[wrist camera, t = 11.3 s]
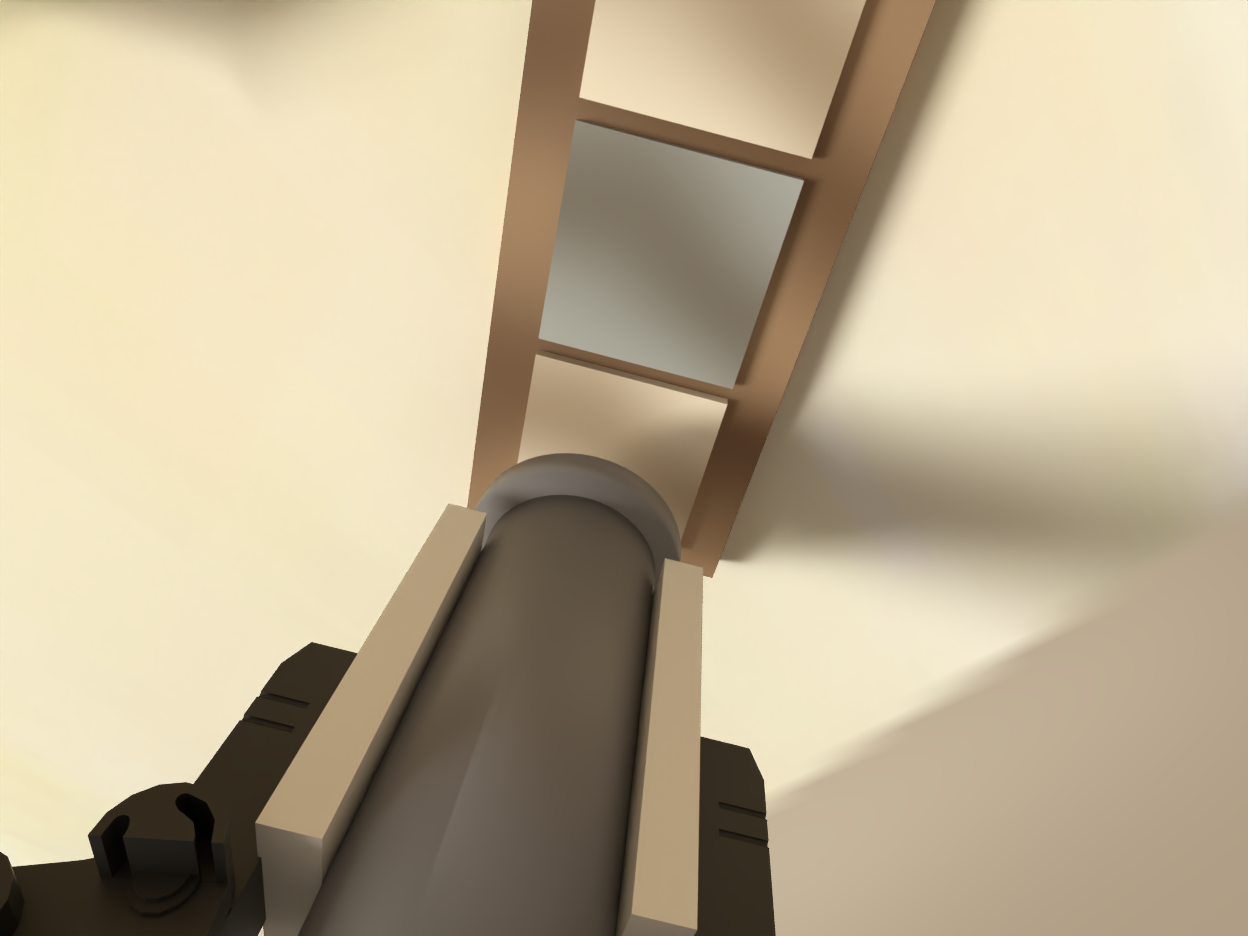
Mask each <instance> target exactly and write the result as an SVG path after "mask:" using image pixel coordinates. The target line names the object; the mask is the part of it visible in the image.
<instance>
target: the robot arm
mask: <svg viewBox="0 0 1248 936" xmlns="http://www.w3.org/2000/svg"><path fill="white" fill-rule="evenodd" d="M486 517H487V513H484V512H480V511H476V510H472V509H468V508H464V507H461V506H457V505H453V504H448V506H447V507H446V509H445V511H444V512H443V514H442V516H441V517H440V519H439V520H438V522H437V524H436V525H435V527H434V529H433V530H432V532H431V534H430V535H429V537H428V539H427V540H426V542H425V544H424V545H423V547H422V549H421V550H420V552H419V553H418V555H417V557H416V558H415V560H414V562H413V563H412V565H411V567H410V568H409V570H408V572H407V573H406V575H405V577H404V578H403V580H402V581H401V583H400V585H399V586H398V588H397V590H396V591H395V593H394V595H393V596H392V598H391V600H390V601H389V603H388V605H387V606H386V608H385V609H384V611H383V613H382V614H381V616H380V618H379V619H378V621H377V623H376V624H375V626H374V628H373V629H372V631H371V633H370V634H369V636H368V638H367V639H366V641H365V642H364V644H363V646H362V647H361V649H360V651H359V652H358V653H354V652H350V651H346V650H342V649H337V648H333V647H329V646H325V645H321V644H317V643H313V642H311V643H310V644H308V645H307V646H305V647H304V648H303V649H301V650H300V651H298V652H297V653H295V654H294V655H292V656H291V657H289V658H288V659H287V660H285V661H284V662H282V663H281V664H280V666H279V667H278V669H277V670H276V671H275V673H274V674H273V675H272V677H271V678H270V680H269V681H268V682H267V684H266V685H265V686H264V688H263V689H262V691H261V694H260V696H259V697H256V699H255V700H254V702H253V703H252V704H251V706H250V707H249V708H248V710H247V711H246V713H245V714H244V718H243V719H242V721H241V720H240V721H239V722H238V724H237V725H236V726H235V728H234V729H233V730H232V732H231V733H230V735H229V736H228V737H227V739H226V740H225V741H224V743H223V744H222V746H221V747H220V748H219V750H218V751H217V753H216V754H215V755H214V757H213V758H212V759H211V761H210V762H209V764H208V765H207V766H206V768H205V769H204V770H203V772H202V773H201V775H200V776H199V777H198V779H197V780H196V781H195V783H194V784H190V783H186V782H184V783H173V784H162V785H157V786H155V787H152V788H149V789H147V790H144V791H141V792H139V793H136V794H133V795H131V796H130V797H128V798H127V799H125V800H124V801H123V802H121V803H120V804H118V805H117V806H115V807H114V808H113V809H111V810H110V811H108V812H107V813H106V814H105V815H104V816H103V818H102V819H101V820H100V821H99V822H98V824H97V825H96V826H95V827H94V828H93V830H92V831H91V832H90V833H89V834H88V838H89V841H90V844H91V848H92V851H93V855H94V858H91V859H86V860H79V861H69V862H58V863H48V864H37V865H27V866H17V867H12V866H11V864H10V861H9V859H8V857H7V856H6V855H4V854H3V853H1V852H0V936H258V934H259V932H260V930H261V928H262V926H263V929H264V936H298V934H299V932H300V930H301V927H302V925H303V923H304V921H305V919H306V917H307V915H308V913H309V911H310V909H311V907H312V905H313V902H314V900H315V898H316V896H317V894H318V892H319V890H320V888H321V886H322V884H323V882H324V879H325V877H326V875H327V873H328V871H329V869H330V867H331V865H332V863H333V861H334V859H335V856H336V854H337V852H338V850H339V848H340V846H341V844H342V842H343V840H344V838H345V836H346V833H347V831H348V829H349V827H350V825H351V823H352V821H353V819H354V817H355V815H356V813H357V810H358V808H359V806H360V804H361V802H362V800H363V798H364V796H365V794H366V792H367V790H368V787H369V785H370V783H371V781H372V779H373V777H374V775H375V773H376V771H377V769H378V767H379V764H380V762H381V760H382V758H383V756H384V754H385V752H386V750H387V748H388V746H389V744H390V741H391V739H392V737H393V735H394V733H395V731H396V729H397V727H398V725H399V723H400V721H401V718H402V716H403V714H404V712H405V710H406V708H407V706H408V704H409V702H410V700H411V698H412V695H413V693H414V691H415V689H416V687H417V685H418V683H419V681H420V679H421V677H422V675H423V672H424V670H425V668H426V666H427V664H428V662H429V660H430V658H431V656H432V654H433V652H434V649H435V647H436V645H437V643H438V641H439V639H440V637H441V635H442V633H443V631H444V629H445V626H446V624H447V622H448V620H449V618H450V616H451V614H452V612H453V610H454V608H455V606H456V603H457V601H458V599H459V597H460V595H461V593H462V591H463V589H464V587H465V585H466V583H467V580H468V578H469V576H470V574H471V572H472V570H473V568H474V566H475V564H476V562H477V560H478V557H479V555H480V553H481V550H482V543H483V537H484V530H485V524H486ZM702 599H703V568H702V567H698V566H694V565H690V564H686V563H682V562H678V561H674V560H670V559H666V558H665V560H664V563H663V566H662V569H661V572H660V575H659V578H658V581H657V584H656V588H655V591H654V594H653V600H652V609H651V618H650V627H649V636H648V645H647V654H646V663H645V672H644V681H643V690H642V699H641V708H640V717H639V726H638V735H637V744H636V753H635V762H634V771H633V780H632V789H631V798H630V807H629V816H628V826H627V835H626V844H625V853H624V862H623V871H622V880H621V889H620V898H619V907H618V916H617V925H616V934H615V936H775V924H774V923H775V922H774V909H773V896H772V882H771V869H770V856H769V848H768V847H767V844H768V829H767V820H766V819H765V817H766V802H765V789H764V779H763V777H762V775H761V773H760V771H759V769H758V766H757V764H756V762H755V760H754V758H753V756H752V753H751V751H750V749H749V748H745V747H741V746H737V745H733V744H729V743H725V742H721V741H717V740H712V739H708V738H704V737H700V723H701V661H702Z"/></svg>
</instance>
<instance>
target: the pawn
mask: <svg viewBox="0 0 1248 936" xmlns="http://www.w3.org/2000/svg"><path fill="white" fill-rule="evenodd" d="M475 510H476V511H480V512H484V513H487V517H486V524H485V530H484V537H483V543H482V550H481V553H480V555H479V557H478V560H477V562H476V564H475V566H474V568H473V570H472V572H471V574H470V576H469V578H468V580H467V583H466V585H465V587H464V589H463V591H462V593H461V595H460V597H459V599H458V601H457V603H456V606H455V608H454V610H453V612H452V614H451V616H450V618H449V620H448V622H447V624H446V626H445V629H444V631H443V633H442V635H441V637H440V639H439V641H438V643H437V645H436V647H435V649H434V652H433V654H432V656H431V658H430V660H429V662H428V664H427V666H426V668H425V670H424V672H423V675H422V677H421V679H420V681H419V683H418V685H417V687H416V689H415V691H414V693H413V695H412V698H411V700H410V702H409V704H408V706H407V708H406V710H405V712H404V714H403V716H402V718H401V721H400V723H399V725H398V727H397V729H396V731H395V733H394V735H393V737H392V739H391V741H390V744H389V746H388V748H387V750H386V752H385V754H384V756H383V758H382V760H381V762H380V764H379V767H378V769H377V771H376V773H375V775H374V777H373V779H372V781H371V783H370V785H369V787H368V790H367V792H366V794H365V796H364V798H363V800H362V802H361V804H360V806H359V808H358V810H357V813H356V815H355V817H354V819H353V821H352V823H351V825H350V827H349V829H348V831H347V833H346V836H345V838H344V840H343V842H342V844H341V846H340V848H339V850H338V852H337V854H336V856H335V859H334V861H333V863H332V865H331V867H330V869H329V871H328V873H327V875H326V877H325V879H324V882H323V884H322V886H321V888H320V890H319V892H318V894H317V896H316V898H315V900H314V902H313V905H312V907H311V909H310V911H309V913H308V915H307V917H306V919H305V921H304V923H303V925H302V927H301V930H300V932H299V934H298V936H615V934H616V925H617V916H618V907H619V898H620V889H621V880H622V871H623V862H624V853H625V844H626V835H627V826H628V816H629V807H630V798H631V789H632V780H633V771H634V762H635V753H636V744H637V735H638V726H639V717H640V708H641V699H642V690H643V681H644V672H645V663H646V654H647V645H648V636H649V627H650V618H651V609H652V600H653V594H654V591H655V588H656V584H657V581H658V578H659V575H660V572H661V569H662V566H663V563H664V560H665V558H666V559H670V560H674V561H678V562H680V561H681V539H680V534H679V530H678V526H677V523H676V521H675V518H674V516H673V514H672V512H671V510H670V508H669V507H668V505H667V503H666V502H665V501H664V500H663V498H662V497H661V496H660V494H659V493H658V492H657V491H656V490H655V489H654V488H653V487H652V486H651V485H650V484H649V483H647V482H646V481H645V480H644V479H642V478H641V477H640V476H638V475H637V474H635V473H633V472H632V471H630V470H628V469H627V468H625V467H623V466H621V465H618V464H616V463H614V462H612V461H608V460H605V459H602V458H599V457H595V456H590V455H585V454H575V453H554V454H548V455H541V456H537V457H534V458H530V459H527V460H525V461H522V462H520V463H518V464H516V465H514V466H512V467H511V468H509V469H507V470H506V471H504V472H503V473H502V474H500V475H499V476H498V477H497V478H496V479H495V480H494V481H493V482H492V483H491V484H490V485H489V486H488V488H487V489H486V491H485V492H484V494H483V495H482V497H481V499H480V501H479V502H478V504H477V506H476V508H475Z"/></svg>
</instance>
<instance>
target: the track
mask: <svg viewBox="0 0 1248 936" xmlns="http://www.w3.org/2000/svg"><path fill="white" fill-rule="evenodd" d="M935 1H936V0H532V8H531V16H530V24H529V31H528V39H527V47H526V55H525V62H524V70H523V78H522V86H521V94H520V101H519V109H518V117H517V125H516V133H515V140H514V148H513V156H512V164H511V172H510V179H509V187H508V195H507V203H506V211H505V218H504V226H503V234H502V242H501V249H500V257H499V265H498V273H497V281H496V288H495V296H494V304H493V312H492V320H491V327H490V335H489V343H488V351H487V359H486V366H485V374H484V382H483V390H482V398H481V405H480V413H479V421H478V429H477V436H476V444H475V452H474V460H473V468H472V475H471V483H470V491H469V499H468V507H467V508H468V509H472V510H475V508H476V506H477V504H478V502H479V501H480V499H481V497H482V495H483V494H484V492H485V491H486V489H487V488H488V486H489V485H490V484H491V483H492V482H493V481H494V480H495V479H496V478H497V477H498V476H499V475H500V474H502V473H503V472H504V471H506V470H507V469H509V468H511V467H512V466H514V465H516V464H518V463H520V462H522V461H525V460H527V459H530V458H534V457H537V456H541V455H548V454H554V453H575V454H585V455H590V456H595V457H599V458H602V459H605V460H608V461H612V462H614V463H616V464H618V465H621V466H623V467H625V468H627V469H628V470H630V471H632V472H633V473H635V474H637V475H638V476H640V477H641V478H642V479H644V480H645V481H646V482H647V483H649V484H650V485H651V486H652V487H653V488H654V489H655V490H656V491H657V492H658V493H659V494H660V496H661V497H662V498H663V500H664V501H665V502H666V503H667V505H668V507H669V508H670V510H671V512H672V514H673V516H674V518H675V521H676V523H677V526H678V530H679V534H680V539H681V561H680V562H682V563H686V564H690V565H694V566H698V567H702V568H703V576H707V577H711V578H712V577H713V574H714V572H715V569H716V567H717V564H718V562H719V559H720V556H721V554H722V551H723V549H724V546H725V543H726V541H727V538H728V536H729V533H730V531H731V528H732V525H733V523H734V520H735V518H736V515H737V513H738V510H739V507H740V505H741V502H742V500H743V497H744V494H745V492H746V489H747V487H748V484H749V482H750V479H751V476H752V474H753V471H754V469H755V466H756V463H757V461H758V458H759V456H760V453H761V451H762V448H763V445H764V443H765V440H766V438H767V435H768V432H769V430H770V427H771V425H772V422H773V420H774V417H775V414H776V412H777V409H778V407H779V404H780V402H781V399H782V396H783V394H784V391H785V389H786V386H787V383H788V381H789V378H790V376H791V373H792V371H793V368H794V365H795V363H796V360H797V358H798V355H799V352H800V350H801V347H802V345H803V342H804V340H805V337H806V334H807V332H808V329H809V327H810V324H811V322H812V319H813V316H814V314H815V311H816V309H817V306H818V303H819V301H820V298H821V296H822V293H823V291H824V288H825V285H826V283H827V280H828V278H829V275H830V272H831V270H832V267H833V265H834V262H835V260H836V257H837V254H838V252H839V249H840V247H841V244H842V242H843V239H844V236H845V234H846V231H847V229H848V226H849V223H850V221H851V218H852V216H853V213H854V211H855V208H856V205H857V203H858V200H859V198H860V195H861V192H862V190H863V187H864V185H865V182H866V180H867V177H868V174H869V172H870V169H871V167H872V164H873V162H874V159H875V156H876V154H877V151H878V149H879V146H880V143H881V141H882V138H883V136H884V133H885V131H886V128H887V125H888V123H889V120H890V118H891V115H892V112H893V110H894V107H895V105H896V102H897V100H898V97H899V94H900V92H901V89H902V87H903V84H904V81H905V79H906V76H907V74H908V71H909V69H910V66H911V63H912V61H913V58H914V56H915V53H916V51H917V48H918V45H919V43H920V40H921V38H922V35H923V32H924V30H925V27H926V25H927V22H928V20H929V17H930V14H931V12H932V9H933V7H934V4H935Z"/></svg>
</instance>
